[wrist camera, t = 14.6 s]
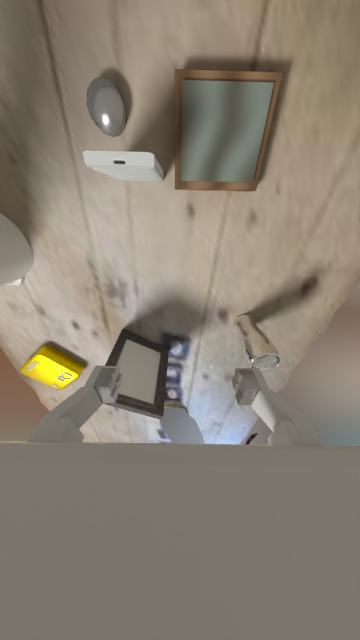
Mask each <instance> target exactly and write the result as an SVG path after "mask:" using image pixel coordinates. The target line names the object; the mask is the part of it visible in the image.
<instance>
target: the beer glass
mask: <svg viewBox="0 0 360 640" xmlns="http://www.w3.org/2000/svg"><path fill="white" fill-rule="evenodd" d="M233 326H234V328H235V330H236V331H237V332H238V334H239V338H240V344H241V348H242V351H243V354H244V356H245V358H246V360H247V362H248V364H249V366H250V368H258V369H259V370H260V371H261V373H266V372H270V371H272V370H274V369H276V368H277V367H278V366H279V365H280V364H281V357H280V355H279V353H278V351H277V350H276V348H275V346H274V344H273V343H272V341H271V340H270V339H269V338H268V336H267V335H266V334H265V333H264V332H263V331H262V330H260V329H259V328H258V326H257V325H256V322H255V319H254V317H253V316H251V315H249V314H243V315H240V316H238V317H237V318H236V319H235V320H234V323H233Z"/></svg>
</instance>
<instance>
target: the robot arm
mask: <svg viewBox="0 0 360 640" xmlns="http://www.w3.org/2000/svg"><path fill="white" fill-rule="evenodd" d="M32 266H33V253H32V250H31V247H30V245H29V243H28V241H27V239H26V238H25V236H24V235H23V233H22V232H21V231H20V230H19V229H18V228H17V226H16V225H15V224H14V223H13V222H11V221H10V220H9V219H8V218H7V217H5V216H4V215H2V214H1V213H0V286H3V285H5V284H10V285H16V286H19V285H22V284H23V283H24V279H25V275H26V274H27V273H28V272H29V271H30V270H31V268H32ZM119 371H120V368H119V366H96V367H95V368H94V369H93V371H92V373H91V375H90V377H89V379H88V380H87V382H86V384H85V386H84V387H81V388H80V389H79V390H77V391H76V392H75V393H73V394H72V395H71V396H70V397H68V398H67V399H66V400H64V401H63V402H62V403H60V404H59V405H58V406H57V407H55V408H54V409H53V410H51V411H50V412H49V413H47V414H46V415H45V416H44V417H43V419H42V420H41V422H40V423H39V425H38V426H37V428H36V429H35V431H34V432H33V434H32V435H31V437H30V439H29V440H28V442H11V441H0V640H360V446H323V445H322V444H321V442H320V440H319V439H318V437H317V435H316V434H315V432H314V430H313V429H312V427H311V425H310V423H309V422H308V420H307V419H306V418H304V417H303V416H302V415H301V414H300V413H298V412H297V411H296V410H295V409H294V408H292V407H291V406H290V405H289V404H288V403H287V402H285V401H284V400H283V399H282V398H280V397H279V396H278V395H277V394H276V393H275V392H273V391H272V390H269V388H268V386H267V384H266V381H265V379H264V377H263V375H262V373H261V371H260V370H259V369H258V368H236V369H235V375H233V379H232V383H233V388H234V390H235V391H236V392H237V393H236V398H237V402H238V405H251V407H252V408H253V409H254V410H255V411H256V412H257V414H258V415H259V416H260V417H261V418H262V419H263V421H264V422H265V423H266V424H267V425H268V426H269V428H270V429H271V430H272V431H273V433H272V434H271V435H270V437H269V438H268V441H269V444H270V445H232V444H160V443H87V442H82V441H83V438H84V436H83V434H82V433H81V431H80V430H79V428H80V427H81V426H82V425H83V424H84V423H85V422H86V421H87V420H88V419H89V418H90V417H91V416H92V414H93V413H94V412H95V411H96V410H97V409H98V408H99V407H100V406H101V405H102V403H115V402H116V399H117V396H118V391H117V390H118V389H119V388H120V387H121V384H122V374H121V373H120V372H119Z"/></svg>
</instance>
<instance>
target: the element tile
mask: <svg viewBox="0 0 360 640" xmlns="http://www.w3.org/2000/svg"><path fill="white" fill-rule="evenodd" d="M84 368H85V367H84V365H82V364H81V363H79V362H77V361H76V360H74V359H72V358H70V357H69V356H67V355H65V354H63V353H62V352H60V351H58V350H56V349H55V348H53V347H51V346H43V347H42V348H41V349H40V350H39V351H38V352H37V353H36V354H35V355H34V356H33V357H32V358H31V359H30V360H29V361H28V362H27V363H26V364H25V365H24V366H23V367H22V368H21V369H20V372H21V373H22V374H24V375H26V376H28V377H31V378H33V379H35V380H37V381H39V382H41V383H44V384H46V385H48V386H50V387H52V388H54V389H57V390H61V389H64V388H65V387H66V386H68V385H69V384H71V383H72V382H73V381H75V380H76V379H78V378H79V377H80V375H81V373H82V372H83V370H84Z"/></svg>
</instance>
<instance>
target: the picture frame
mask: <svg viewBox="0 0 360 640" xmlns="http://www.w3.org/2000/svg"><path fill="white" fill-rule="evenodd" d="M168 353H169V349H167V348H165V347H163V346H160V345H158V344H156V343H153V342H151V341H149V340H146V339H144V338H142V337H139V336H137V335H135V334H132V333H130V332H128V331H125V330H123V329H122V331H121V333H120V335H119V337H118V339H117V342H116V344H115V346H114V348H113V350H112V352H111V354H110V356H109V358H108V361H107V363H106V365H105V366H119V368H120V371H119V372H120V373H121V374H122V384H121V387H120V388H119V389H118V390H117V391H118V396H117V399H116V402H115V403H103V404H107V405H110V406H114V407H117V408H121V409H125V410H128V411H132V412H135V413H139V414H143V415H146V416H150V417H153V418H157V419H161V418H162V417H163V412H164V400H165V388H166V376H167V364H168Z"/></svg>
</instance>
